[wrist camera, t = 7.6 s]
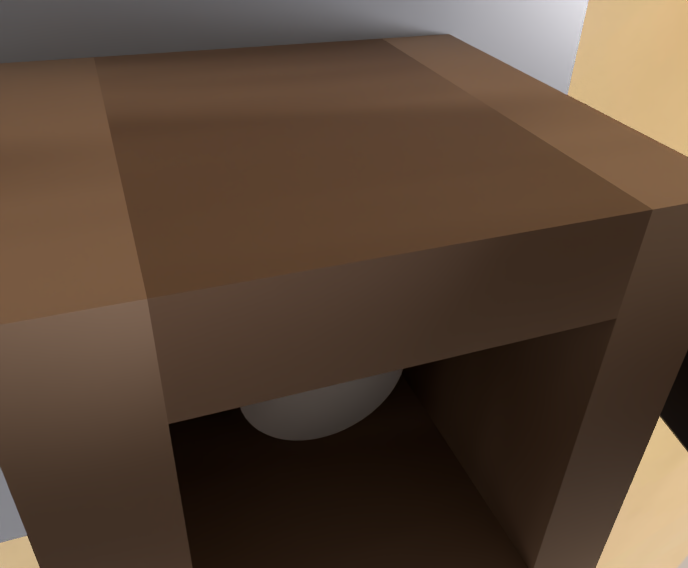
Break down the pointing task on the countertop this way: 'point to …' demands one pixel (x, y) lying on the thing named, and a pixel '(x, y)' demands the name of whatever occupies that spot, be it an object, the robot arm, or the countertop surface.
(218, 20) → the pin plate
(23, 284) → the walnut sleeve
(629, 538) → the countertop surface
